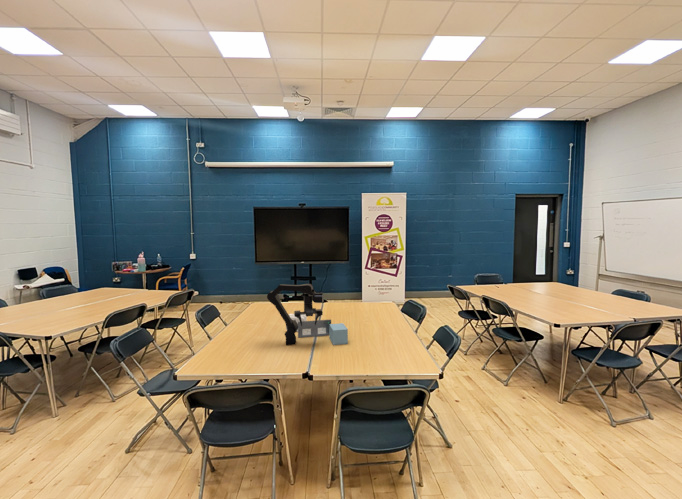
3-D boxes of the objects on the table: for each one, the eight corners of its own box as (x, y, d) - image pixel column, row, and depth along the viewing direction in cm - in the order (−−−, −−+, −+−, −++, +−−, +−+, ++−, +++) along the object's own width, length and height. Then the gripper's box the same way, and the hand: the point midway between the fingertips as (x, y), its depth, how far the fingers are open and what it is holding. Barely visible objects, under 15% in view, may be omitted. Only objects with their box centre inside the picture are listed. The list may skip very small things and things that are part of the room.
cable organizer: (284, 332, 238) (284, 317, 237) (288, 327, 248) (288, 313, 247) (304, 332, 236) (303, 317, 235) (307, 328, 246) (307, 313, 246)
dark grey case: (300, 348, 204) (300, 330, 203) (297, 336, 228) (297, 320, 227) (345, 344, 210) (345, 327, 210) (337, 333, 234) (337, 317, 234)
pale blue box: (333, 345, 209) (333, 330, 208) (329, 337, 222) (329, 324, 222) (347, 343, 211) (347, 329, 210) (343, 336, 224) (343, 323, 224)
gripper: (295, 306, 200) (295, 330, 201) (323, 304, 204) (324, 328, 205) (293, 302, 211) (294, 325, 212) (321, 300, 215) (321, 323, 216)
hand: (308, 325), depth 211 cm, fingers open, 9 cm apart
